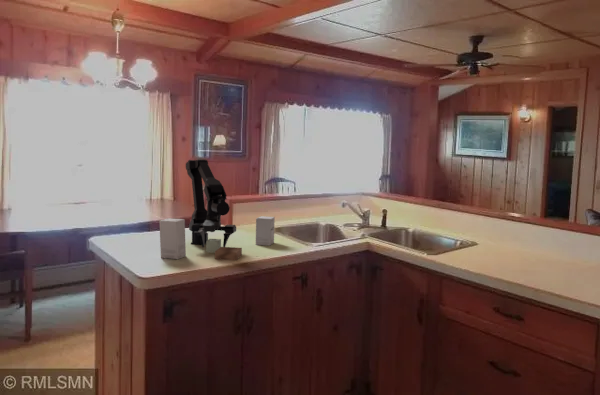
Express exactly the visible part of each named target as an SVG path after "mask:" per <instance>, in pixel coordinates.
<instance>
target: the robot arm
mask: <svg viewBox="0 0 600 395" xmlns="http://www.w3.org/2000/svg"><path fill="white" fill-rule="evenodd" d="M185 170H186V174H187V175H188V178H190V179H191V186H192V196H193V206H194V210H193V212H192V214H191V220H190V222H189V223H188V224H189V225H188V229H189V231H190V232H191V242H190V245H201V246H202V248H205V245H206V241H207V240H209V232H210V233H215V232H216V231H224V232H223V242H222V243H223V244H222V247H227V244H228V240H229V238H230V236H231V235H233V234H234V233H236V232H237V225H235V224H226V225H225V226H222V223H221V222H222V221H221V217H222V216H226V215H228V213H229V212H230V208H231V207H230V204H229V203H228V202H226V200H227V193H226V191H225V188H224V187H225V186H223V184H222V183H221V181H220V180H219V179H216V178H215V175H214V173H213V172H212V169H211V167H210V166H209V160H207V159H204V158H198V159H189V160H187V161H186V162H185ZM203 183H204V187H203ZM204 195H205V197H206V207H207V208H206V207H205V198H204Z"/></svg>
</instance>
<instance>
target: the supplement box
mask: <svg viewBox="0 0 600 395" xmlns="http://www.w3.org/2000/svg"><path fill="white" fill-rule="evenodd" d="M274 243H275V216H262V215H261V216H259V217H256V218H255V245H258V246H259V245H260V246H271V245H272V244H274Z"/></svg>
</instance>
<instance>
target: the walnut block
mask: <svg viewBox="0 0 600 395" xmlns="http://www.w3.org/2000/svg"><path fill="white" fill-rule="evenodd" d="M242 255H243V250H242V247H236V246H235V247H232V246H231V247H229V246H225V247H223V246H221V247H220V248H219V249H218V250H216V251H215V253H214V260H221V261H222V260H223V261H224V260H225V261H237V260H238V259H239V258H240V257H241V256H242Z"/></svg>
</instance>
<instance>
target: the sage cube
mask: <svg viewBox="0 0 600 395" xmlns="http://www.w3.org/2000/svg"><path fill="white" fill-rule="evenodd" d="M205 246H206V249H205V251H206V252H205V253H213V254H215V251H216V250H218V249H219V248H220V247H222V239H221V238H208V240H207V241H206V244H205Z"/></svg>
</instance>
